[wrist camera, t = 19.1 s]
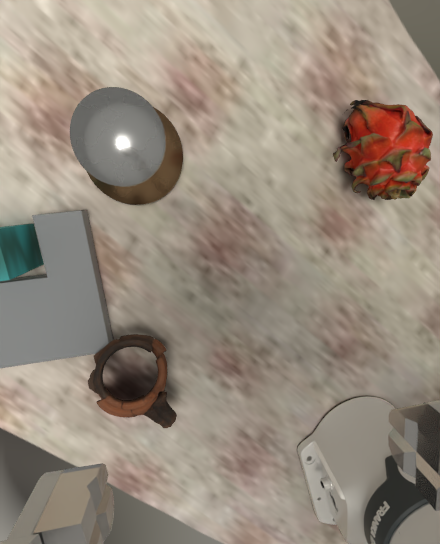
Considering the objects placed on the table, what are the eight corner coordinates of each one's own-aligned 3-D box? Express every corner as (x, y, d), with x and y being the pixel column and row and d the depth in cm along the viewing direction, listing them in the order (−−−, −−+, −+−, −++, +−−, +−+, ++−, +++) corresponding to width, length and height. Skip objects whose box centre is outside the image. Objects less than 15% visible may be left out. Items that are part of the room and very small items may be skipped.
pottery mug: (78, 379, 37) (63, 383, 30) (133, 322, 41) (132, 312, 33) (150, 442, 37) (153, 462, 30) (198, 380, 41) (212, 383, 33)
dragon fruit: (373, 207, 39) (323, 127, 37) (448, 167, 34) (395, 72, 32) (370, 228, 32) (310, 131, 30) (464, 182, 27) (397, 63, 25)
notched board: (113, 343, 36) (110, 351, 34) (-28, 364, 34) (-41, 374, 33) (86, 209, 32) (81, 210, 30) (-75, 226, 31) (-92, 227, 29)
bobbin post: (187, 199, 34) (191, 199, 24) (96, 208, 32) (65, 211, 23) (176, 102, 31) (175, 60, 22) (76, 108, 30) (33, 67, 21)
